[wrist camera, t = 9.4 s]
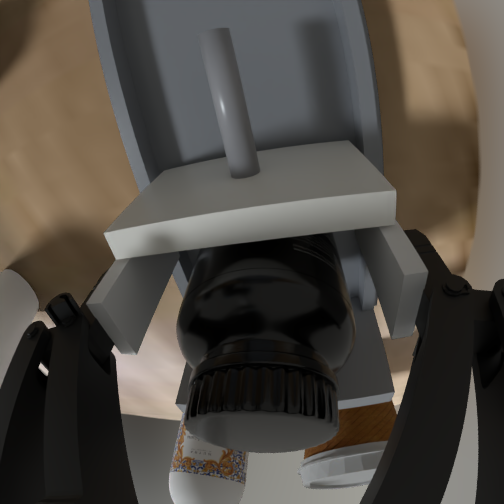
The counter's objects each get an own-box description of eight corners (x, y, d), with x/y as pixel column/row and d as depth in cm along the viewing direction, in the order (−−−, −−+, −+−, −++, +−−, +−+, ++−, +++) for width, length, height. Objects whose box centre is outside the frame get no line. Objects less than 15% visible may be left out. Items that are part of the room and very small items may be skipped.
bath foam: (251, 367, 27) (228, 566, 11) (257, 398, 31) (241, 558, 14) (184, 364, 28) (141, 547, 11) (200, 395, 32) (170, 546, 15)
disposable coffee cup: (326, 325, 23) (339, 468, 13) (410, 344, 24) (438, 457, 14) (282, 380, 28) (278, 489, 18) (357, 392, 29) (367, 487, 19)
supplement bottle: (193, 194, 16) (100, 389, 6) (310, 157, 14) (376, 362, 5) (237, 282, 20) (212, 461, 10) (337, 258, 18) (375, 446, 8)
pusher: (135, 70, 12) (50, 80, 6) (331, 28, 10) (373, -7, 5) (170, 189, 16) (116, 259, 10) (350, 162, 14) (395, 224, 9)
